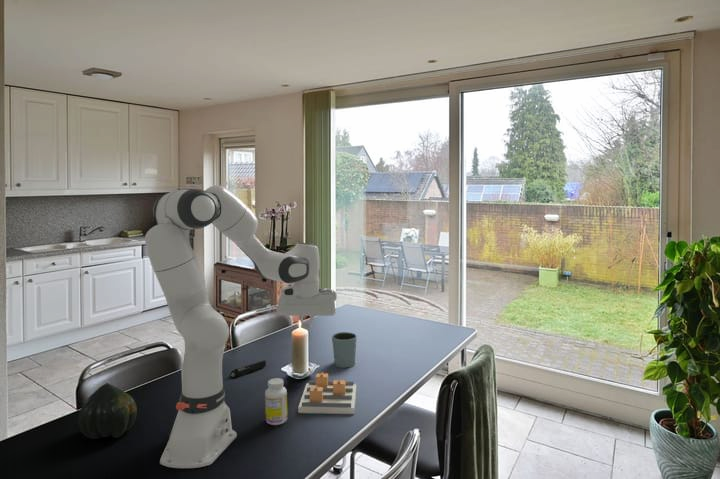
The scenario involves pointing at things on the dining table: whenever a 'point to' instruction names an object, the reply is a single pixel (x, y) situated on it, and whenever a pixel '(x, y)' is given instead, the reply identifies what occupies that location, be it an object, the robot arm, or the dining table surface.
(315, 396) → the tab
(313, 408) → the switch bank
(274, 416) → the supplement bottle
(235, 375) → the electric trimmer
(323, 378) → the tab
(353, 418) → the dining table surface
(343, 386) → the tab
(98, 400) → the squash
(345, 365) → the green cup
